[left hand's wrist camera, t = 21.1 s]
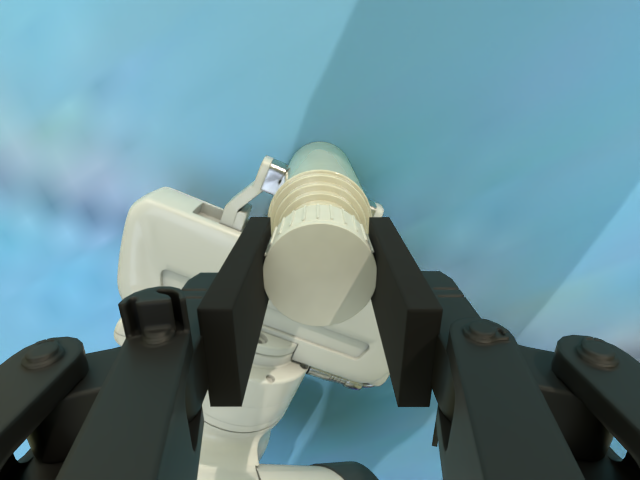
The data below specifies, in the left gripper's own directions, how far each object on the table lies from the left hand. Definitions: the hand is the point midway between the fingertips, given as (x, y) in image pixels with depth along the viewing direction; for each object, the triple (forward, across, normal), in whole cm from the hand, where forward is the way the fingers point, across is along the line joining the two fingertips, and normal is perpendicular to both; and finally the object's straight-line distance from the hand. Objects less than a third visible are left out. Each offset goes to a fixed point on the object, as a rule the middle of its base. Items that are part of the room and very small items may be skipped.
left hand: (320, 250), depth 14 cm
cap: (-2, 0, 0) cm, 2 cm away
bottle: (+16, 0, 0) cm, 16 cm away
